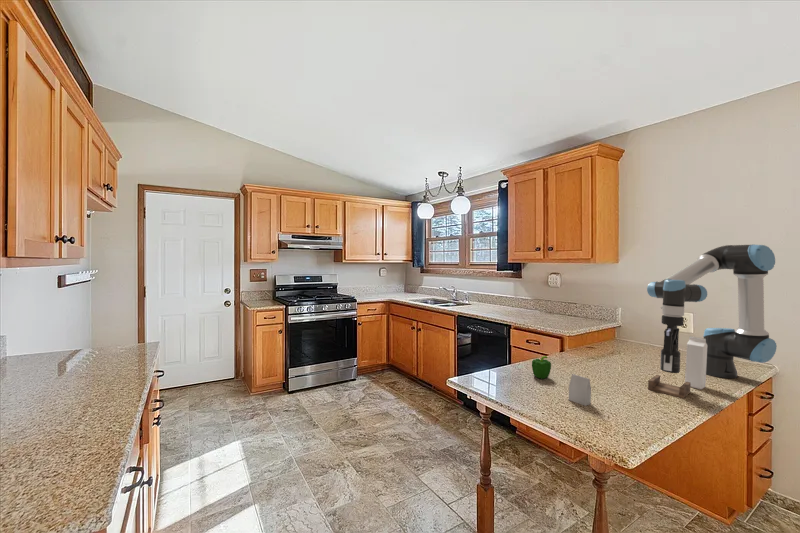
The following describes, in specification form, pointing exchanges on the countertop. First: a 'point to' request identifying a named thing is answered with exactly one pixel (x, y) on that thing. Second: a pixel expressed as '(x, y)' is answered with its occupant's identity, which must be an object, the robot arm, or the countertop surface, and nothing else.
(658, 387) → the u cradle
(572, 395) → the grey upright block
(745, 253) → the robot arm
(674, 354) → the supplement bottle
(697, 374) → the milk
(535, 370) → the bell pepper
